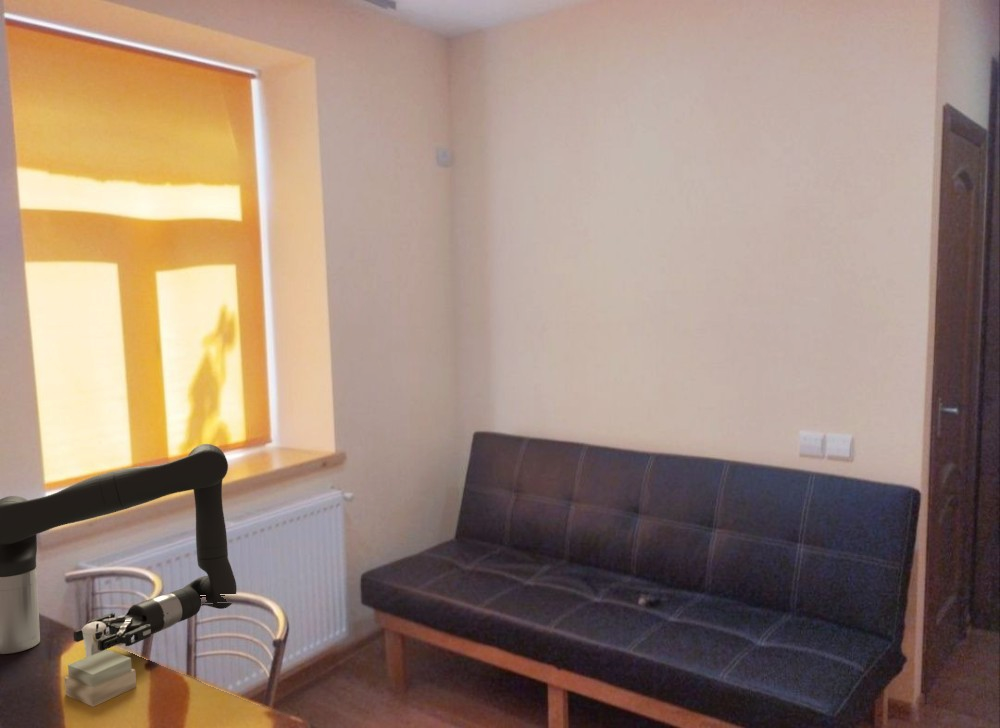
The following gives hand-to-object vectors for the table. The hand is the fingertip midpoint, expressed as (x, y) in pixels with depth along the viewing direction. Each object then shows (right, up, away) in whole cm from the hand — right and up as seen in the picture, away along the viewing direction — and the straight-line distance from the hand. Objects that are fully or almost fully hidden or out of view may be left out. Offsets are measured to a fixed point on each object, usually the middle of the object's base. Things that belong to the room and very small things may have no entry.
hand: (86, 641), depth 165 cm
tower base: (+7, -7, -9) cm, 13 cm away
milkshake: (+1, -6, +2) cm, 6 cm away
